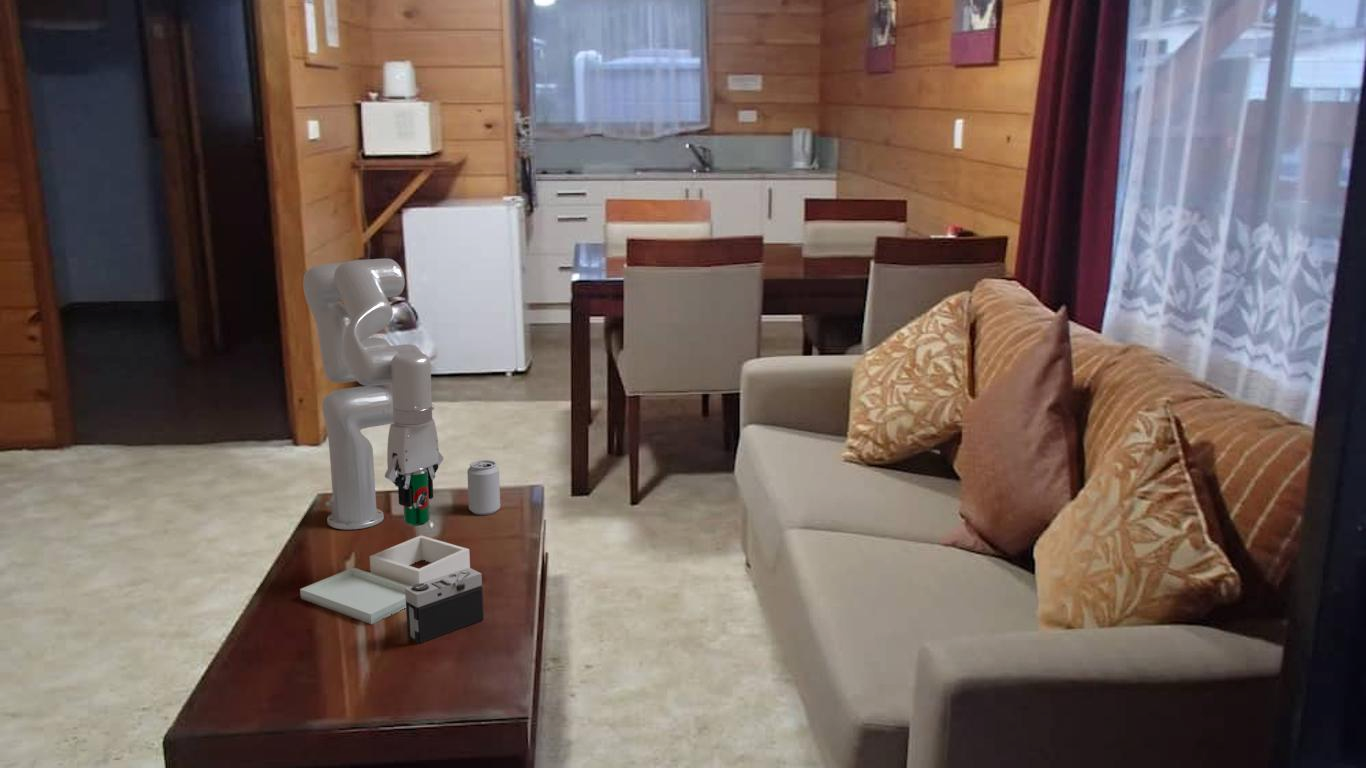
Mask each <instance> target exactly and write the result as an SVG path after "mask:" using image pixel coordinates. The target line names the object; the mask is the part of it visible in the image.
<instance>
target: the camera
mask: <svg viewBox="0 0 1366 768" xmlns="http://www.w3.org/2000/svg"><path fill="white" fill-rule="evenodd" d="M482 581H483V579H482V573H481V572H479V571H477V570H475V569H474V568H471V567H470V568H466V569H463V570H460V571H457V572H454V573H451V574H448V575H445V576H442V577H439V578H436V579H433V580H429V581H426V582H423V583H420V584H416V585H414V586H411V587H408V588H405V596H406V608H405V609H406V626H407V629H406V630H407V638H408V639H410V640H411V641H413V642H414V643H416V644H418V645H419V644H422V643H425V642H428V641H430V640H433V639H437V638H438V637H441V636H443V635H446V634H449V633H452V632H454V631H457V630H460V629H462V628H466V627H468V626H471V625H474V624H476V623H480V622H481V621H483V620H484V599H483V598H484V596H483V583H482Z"/></svg>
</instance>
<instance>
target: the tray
mask: <svg viewBox="0 0 1366 768" xmlns="http://www.w3.org/2000/svg"><path fill="white" fill-rule="evenodd" d="M408 587H411V586H409V585H406V584H403V583H400V582H397V581H394V580H391V579H388V578H385V577H381V576H378V575H375V574H372V573H371V572H368V571H365V570H364V569H363V570H362V569H360V568H357V567H351V568H349V569H346V570H344V571H340V572H339V573H336V574H334V575H332V576H329V577H326V578H324V579H321V580H318V581H317V582H314V583H312V584H309V585H307V586H304V587H302V588H300V589H299V591H300V599H301V600H303V601H306V602H309V603H311V602H312V604H315V605H317V606H320V607H323V608H325V609H328V610H331V611H334V612H336V613H338V614H339V613H340V614H341V615H344V616H348V617H350V618H354V619H356V620H358V621H362V622H364V623H367V624H370V625H373V624H375V623H377V622H380V621H381V619H382V620H384V619H385V618H388V617H390V616H392V615H394V614H396V613H398V612H401V611H402V609H403V610H404V608H405V609H406V596H405V588H408ZM400 610H401V611H400ZM391 614H392V615H391ZM383 618H384V619H383Z"/></svg>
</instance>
